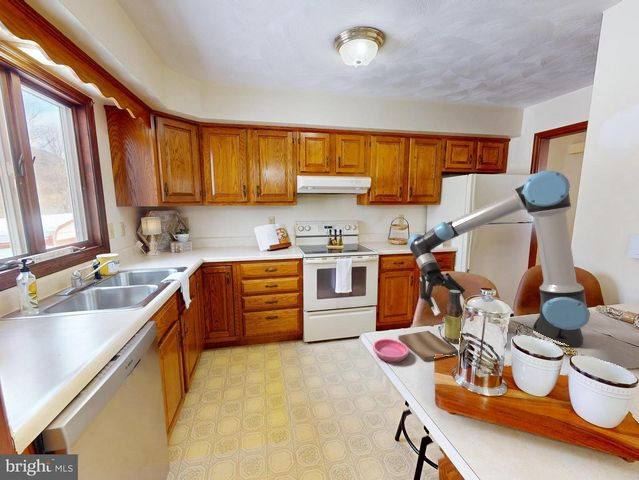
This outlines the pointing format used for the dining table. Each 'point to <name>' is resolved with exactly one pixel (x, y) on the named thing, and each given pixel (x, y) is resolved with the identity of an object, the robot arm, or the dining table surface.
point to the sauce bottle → (453, 317)
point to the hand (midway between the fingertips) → (452, 312)
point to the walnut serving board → (426, 345)
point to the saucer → (390, 350)
